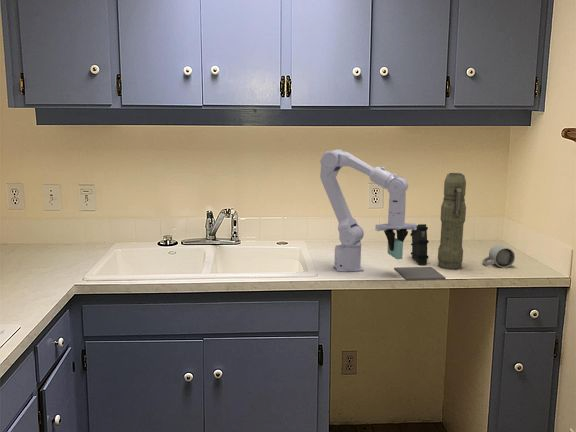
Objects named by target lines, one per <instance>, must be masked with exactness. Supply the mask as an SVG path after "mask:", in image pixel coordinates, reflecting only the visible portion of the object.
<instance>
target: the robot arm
mask: <svg viewBox="0 0 576 432" xmlns="http://www.w3.org/2000/svg"><path fill="white" fill-rule="evenodd" d="M319 162H320V173H319V174H320V177H319V178H320V181H321V183H322V185H323V188H324V190H325V193H326V195H327V197H328V200H329V202H330V205H331V207H332V210H333V212H334V215H335V217H336V219H337V222H338V225H337V230H338V233H339V236H338V237H339V238H338V239H339V242H340V243H341V244H338V245H335V247H334V263H333V266H334V268H335V269H336V270H337V272H364V271H365V270H364V268H363V267H362V265H361V261H362V260H361V259H362V258H361V257H362V241H361V240H362V239H363V238H364V234H365V232H364V230H363V229H364V228H362V227H361V226H360V225H359V223H358V221H357V220H356V219H355V218H354V217H353V215H352V212H351V211H350V208H349V205H348V204H347V201H346V198H345V197H344V194H343V191H342V189H341V187H340V185H339V182H338V179H337V176H338V174H339V171H340V170H341V168H343V167H350V168H352V169H354V170H356V171H359V172H360V173H362V174H364V175H367V176H368V178H369V180H370V182H371V183H374V184H376V185H378V186H380V187H382V188H383V189H385V190H387V192H388V194H389V197H388V198H389V199H388V211H387V213H388V216H387V217H388V218H387V223H382V224H381V223H380V224H375V229H374V230H375V231H376V232H380V231H382V232H384V234H385V236H386V239H387V244H388V243H389V249H390V250H391V251H393V250H394V239H395V238H396V239H398V240H400V241H402V242H403V243H404V241H405V240H406V237H407V236H408V234H409V231H410V230H411V231H412V230H416V229H417V225H418V224H416V223H406V222H405V220H406V205H407V204H406V202H407V201H406V194H407V193H406V192H407V190H408V188H409V183H408V180H407V179H406V178H404V177H403V176H398V174H397V173H392V172H390V171H388V170H386V167H384V166H376V167H373V166H371V165H370V164H368V163H366V162H365V161H363V160H362V159H360V158H358V157H356V156H355V155H353V154H351V152H348V151H344V150H343V149H340V148H337V149H334V150H327V151H324V152H323V154H322V156H321V158H320V160H319ZM395 231H396V232H395ZM395 236H396V237H395Z"/></svg>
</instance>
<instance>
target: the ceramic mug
mask: <svg viewBox="0 0 576 432" xmlns="http://www.w3.org/2000/svg"><path fill="white" fill-rule="evenodd" d="M515 259H516V255H515V252H514V250H512V249H511V248H509V247H506V246H504V245H497V244H496V245H494V246H492V247H491V248H490V249H489V253H488V256H487V257H484V258H483V259H482V261H481V262H482V265H483V266H485V267H487V266H488V267H489V266H492V265H496V266H497V267H499V268H502V269H508V268H510V267H511V266H512V265H513V264H514V262H515Z"/></svg>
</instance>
